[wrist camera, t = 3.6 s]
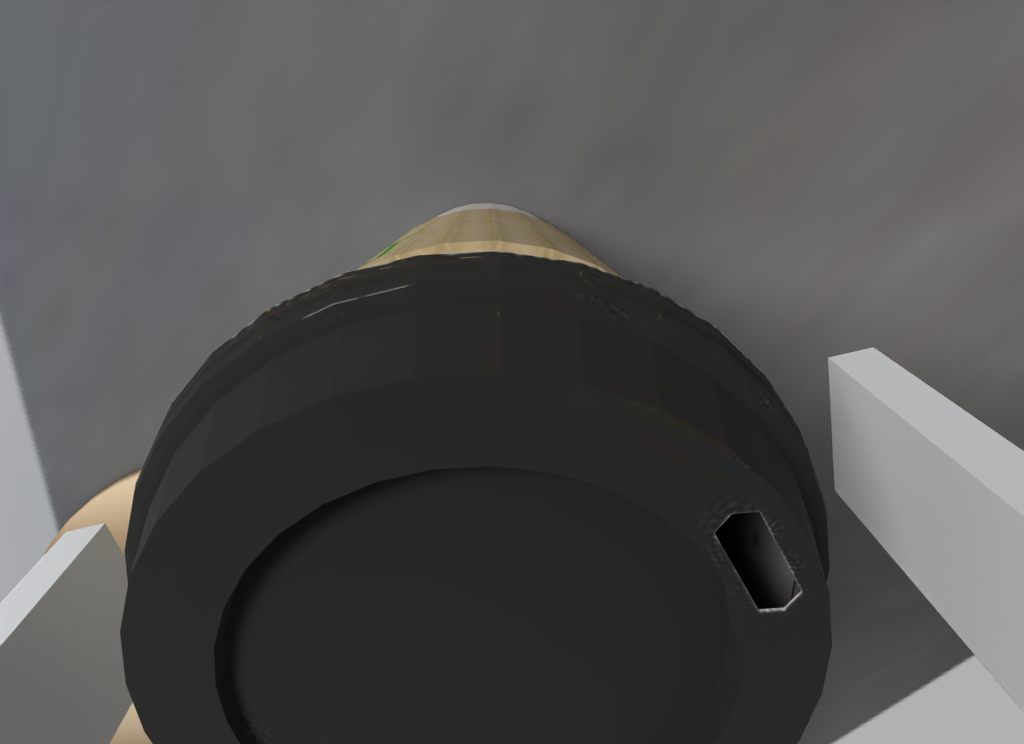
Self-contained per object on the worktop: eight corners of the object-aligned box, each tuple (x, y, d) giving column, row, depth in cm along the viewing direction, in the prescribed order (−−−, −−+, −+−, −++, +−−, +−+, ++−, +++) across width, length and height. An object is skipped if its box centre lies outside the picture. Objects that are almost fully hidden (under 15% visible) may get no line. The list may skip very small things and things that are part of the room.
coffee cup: (269, 248, 21) (-146, 589, 7) (544, 72, 19) (683, 86, 5) (442, 475, 25) (383, 989, 11) (687, 346, 23) (984, 768, 9)
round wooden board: (-52, 508, 24) (-69, 522, 24) (424, 400, 23) (422, 410, 22) (166, 812, 32) (158, 829, 31) (536, 741, 31) (537, 758, 30)
